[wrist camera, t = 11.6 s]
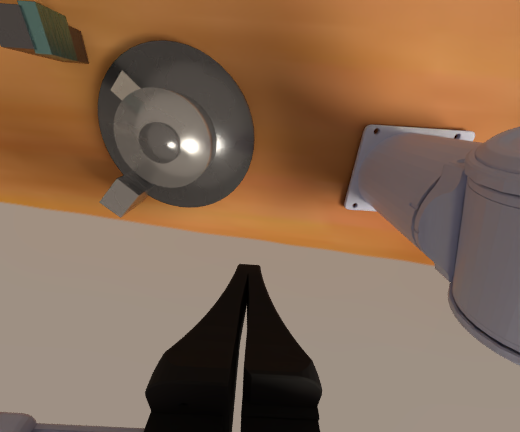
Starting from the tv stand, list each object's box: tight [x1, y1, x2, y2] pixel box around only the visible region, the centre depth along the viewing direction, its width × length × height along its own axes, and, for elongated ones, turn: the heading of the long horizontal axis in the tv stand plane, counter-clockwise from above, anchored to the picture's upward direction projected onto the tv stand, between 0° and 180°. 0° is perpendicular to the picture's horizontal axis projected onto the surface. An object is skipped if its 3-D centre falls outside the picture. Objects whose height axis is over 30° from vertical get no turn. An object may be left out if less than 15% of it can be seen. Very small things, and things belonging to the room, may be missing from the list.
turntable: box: [98, 41, 254, 217], centre depth 17 cm, size 13×14×4 cm
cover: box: [113, 87, 217, 188], centre depth 16 cm, size 7×7×3 cm
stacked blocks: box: [0, 1, 89, 64], centre depth 14 cm, size 3×2×4 cm
